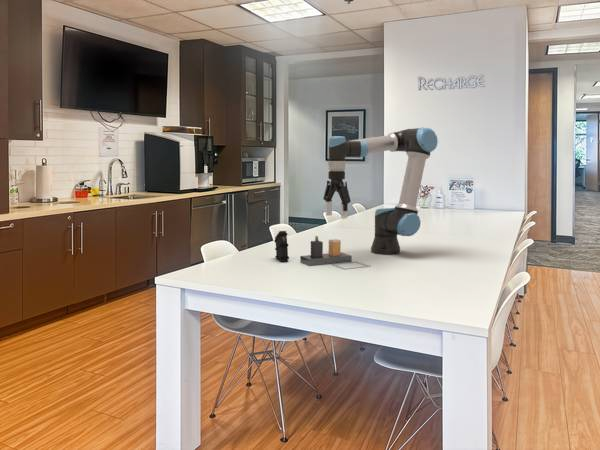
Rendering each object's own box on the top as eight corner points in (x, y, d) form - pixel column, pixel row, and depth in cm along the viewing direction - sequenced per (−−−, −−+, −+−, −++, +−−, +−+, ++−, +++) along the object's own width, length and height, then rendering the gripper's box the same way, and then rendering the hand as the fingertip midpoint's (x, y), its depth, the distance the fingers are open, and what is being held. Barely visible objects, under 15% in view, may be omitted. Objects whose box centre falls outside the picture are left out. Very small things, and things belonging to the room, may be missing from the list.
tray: (356, 263, 240) (356, 261, 240) (371, 268, 229) (371, 266, 229) (330, 266, 233) (330, 264, 233) (344, 271, 223) (344, 269, 223)
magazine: (282, 262, 235) (279, 230, 239) (276, 269, 247) (273, 239, 251) (290, 261, 236) (287, 230, 240) (284, 269, 248) (280, 239, 252)
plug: (335, 260, 243) (336, 239, 242) (340, 261, 240) (340, 240, 239) (328, 260, 242) (328, 239, 240) (332, 262, 238) (333, 241, 237)
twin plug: (318, 261, 239) (318, 235, 238) (322, 263, 236) (322, 236, 234) (310, 262, 237) (310, 235, 236) (314, 264, 234) (314, 237, 232)
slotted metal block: (341, 260, 248) (341, 252, 247) (351, 263, 240) (351, 255, 239) (300, 264, 238) (300, 256, 237) (309, 268, 230) (309, 259, 229)
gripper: (316, 170, 245) (316, 214, 248) (344, 171, 223) (343, 220, 226) (330, 170, 249) (329, 213, 251) (358, 171, 227) (358, 219, 229)
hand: (336, 216), depth 239 cm, fingers open, 13 cm apart
